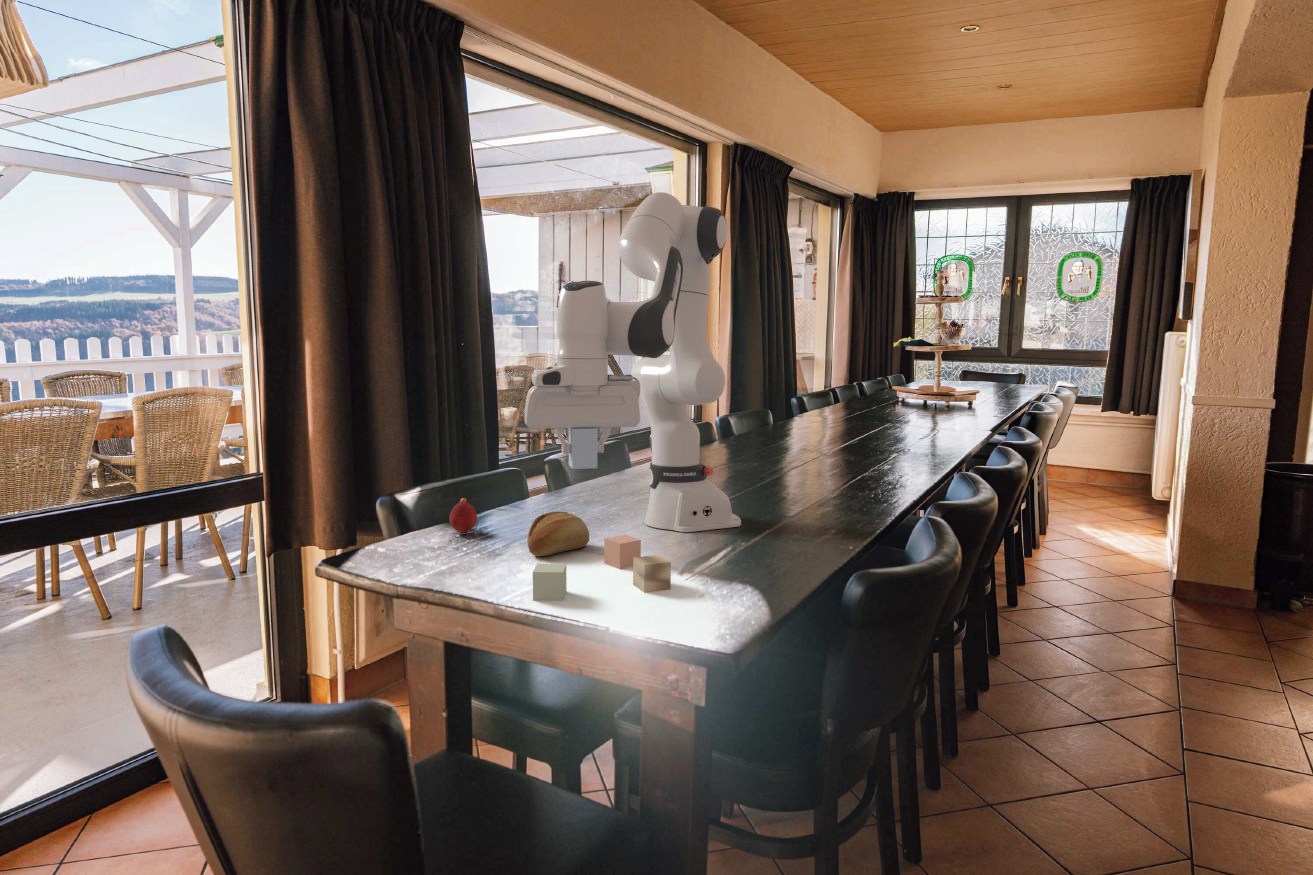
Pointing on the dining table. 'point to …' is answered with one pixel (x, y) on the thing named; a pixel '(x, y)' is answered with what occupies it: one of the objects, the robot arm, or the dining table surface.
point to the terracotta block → (621, 551)
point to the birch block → (651, 573)
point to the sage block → (549, 582)
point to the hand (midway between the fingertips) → (582, 452)
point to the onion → (463, 516)
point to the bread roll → (557, 533)
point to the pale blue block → (583, 448)
